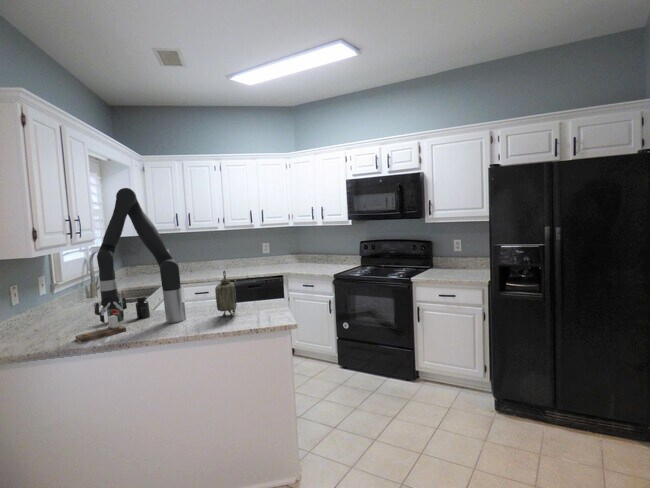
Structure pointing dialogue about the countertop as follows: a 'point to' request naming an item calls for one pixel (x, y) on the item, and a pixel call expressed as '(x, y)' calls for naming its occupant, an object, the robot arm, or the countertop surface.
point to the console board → (99, 334)
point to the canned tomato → (115, 312)
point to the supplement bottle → (142, 308)
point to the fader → (113, 322)
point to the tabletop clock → (226, 296)
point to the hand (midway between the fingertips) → (112, 320)
